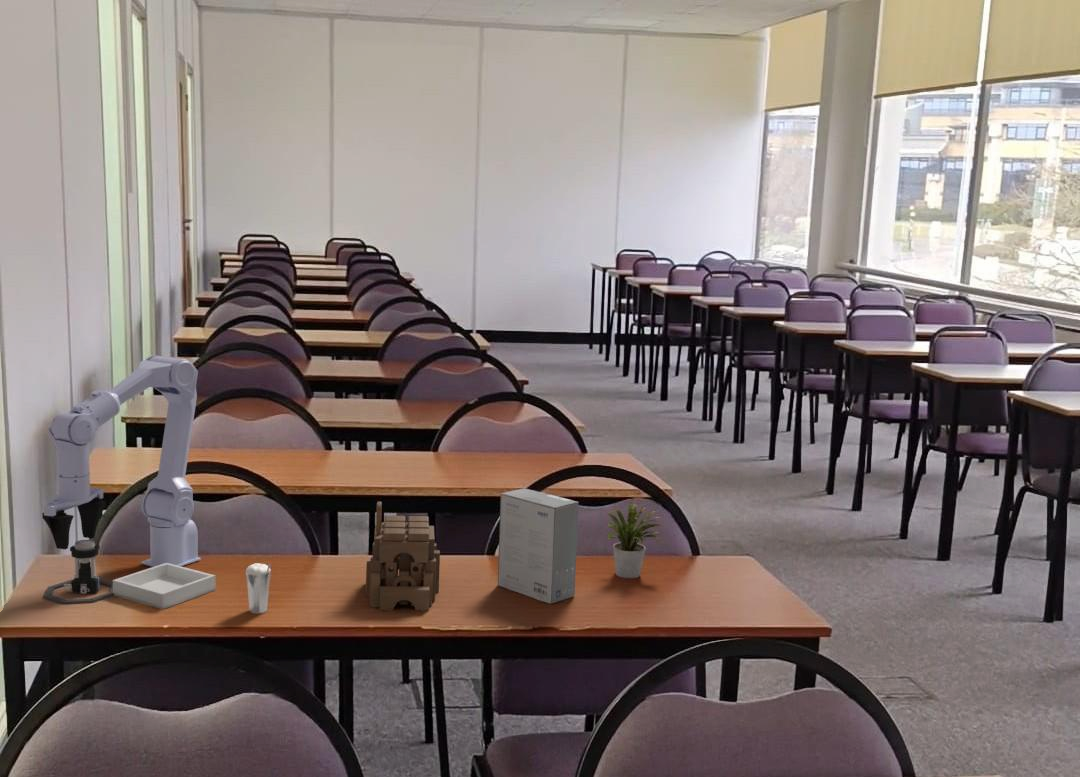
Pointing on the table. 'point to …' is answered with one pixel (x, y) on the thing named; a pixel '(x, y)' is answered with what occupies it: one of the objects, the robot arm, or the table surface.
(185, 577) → the tray
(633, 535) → the house plant
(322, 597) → the table surface
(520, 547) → the hard drive box
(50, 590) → the seat ring
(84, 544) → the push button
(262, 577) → the milkshake
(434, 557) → the wooden puzzle
